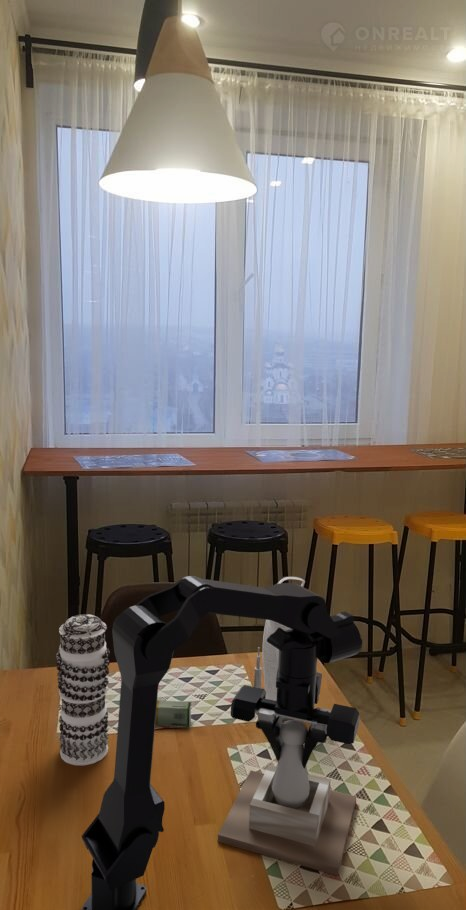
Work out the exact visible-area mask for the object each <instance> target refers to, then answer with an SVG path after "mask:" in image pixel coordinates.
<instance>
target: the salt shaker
mask: <svg viewBox="0 0 466 910" xmlns="http://www.w3.org/2000/svg"><path fill="white" fill-rule="evenodd" d="M308 730H309V728H308V727H307V725H306V724H305V723H304V722H303V721H299V720H294V719H287V720H284V722H282V724H281V728H280V738H281V740H282V741H283V743H282V747H281V751H280V760H279V761H277V764H276V766H277V768H276V772H275V776H274V780H273V784H272V791H273V794H274V796H275V798H276V801H277V802H278V804H279V805H281V806H285V807H289V808H292V809H296V810H297V809H299V808H300V807H302V806H303V805H304V803H305V801H306V800H307V798H308V796H309V790H310V786H309V779H308V774H309V773H308V767H307V765H306V767H305V769H304V768H303V765H302V758H303V751H304V744H305V738H306V735H307V732H308Z"/></svg>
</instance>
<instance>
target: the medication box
mask: <svg viewBox="0 0 466 910" xmlns="http://www.w3.org/2000/svg"><path fill="white" fill-rule="evenodd" d="M191 725H192V702H191V701H178V700H177V701H175V700H174V701H173V700H157V708H156V720H155V726H164V727H178V726H179V728H181V727H183V728H189V727H191Z"/></svg>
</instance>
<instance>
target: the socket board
mask: <svg viewBox="0 0 466 910" xmlns="http://www.w3.org/2000/svg"><path fill="white" fill-rule="evenodd" d="M276 768H277V765H272V764H268V766H267V767H266V769H265V771H264V772H259V771H254V770H249V773H248V775H247V776H246V779H245V780H244V782H243V785H242V786H241V789H240V790H239V792H238V794H237V795H236V798H235V801H234V802H233V804H232V806H231V808H230V810H229V812H228V814H227V816H226V818H225V820H224V821H223V824H222V825H221V828H220V829H219V832H218V833H217V842H218V843H221V844H225V845H228V846H231V847H236V848H238V849H241V850H242V849H243V850H245V851H249V852H251V853H252V852H253V853H256V854H259V855H262V856H266V857H270V858H274V859H278V860H282V861H284V862H288V863H292V864H294V865H298V866H303V867H305V868H310V869H313V870H316V871H319V872H323V873H326V874H330V875H333V876H336V877H338V876H339V875H340V874H339V873H340V869H341V865H342V862H343V857H344V854H345V848H346V845H347V841H348V838H349V837H348V836H349V833H350V828H351V824H352V821H353V817H354V813H355V808H356V804H357V795H353V794H349V793H345V792H340V791H336V790H333V789H331V779H330V778H328V777H323V776H319V775H314V774H310V773H308V779H309V786H310V790H309V796H308V798H307V800H306V801H305V803H304V805H303V806H302V807H300V808H299V809H297V810H296V809H292V808H289V807H285V806H281V805H279V804H278V802H277V801H276V798H275V796H274V794H273V791H272V784H273V780H274V776H275V772H276Z"/></svg>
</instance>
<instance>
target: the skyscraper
mask: <svg viewBox="0 0 466 910" xmlns="http://www.w3.org/2000/svg"><path fill="white" fill-rule="evenodd" d="M288 580H298V581H301V584H300V586H302V587H304V586H305V583H306V580H305V579H303V578H301V577H299V576H284V577H283V578H281V579H280V580H279V581H278V582H277V583H276V584H280V583H283V582H284V581H288ZM279 627H280V628H281V629H283V630H285V631H286V630H289V629H291V628H288V627H286V626H284V625H282V624H279V623H277V622H274V621H272V620H266V619H265V624H264V629H263V638H262V653H261V655H262V656H261V655H260V652H261V651H260V650H261V649H260V648H261V647H257V655H256V666H254V679H253V681H254V683H253V687H257V688H262V673H263V682H264V683H263V684H264V689H265V691H266V698H265V699H269V700H274V701H276V699H277V688H276V677H277V670H278V658H279V650H278V649H277V648H275V647H274V646H272V645H271V644H269V643H268V642H267V638H268V637H269V636H270V635H271V634H273V633H274V632H275V631H276V630H277V628H279ZM261 657H262V667H261ZM262 689H263V688H262ZM255 714H256V715H257V716H258V714H257V711H256V710H255ZM288 720H291V719H290V718H285V717H283V720H282V721H288Z"/></svg>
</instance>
